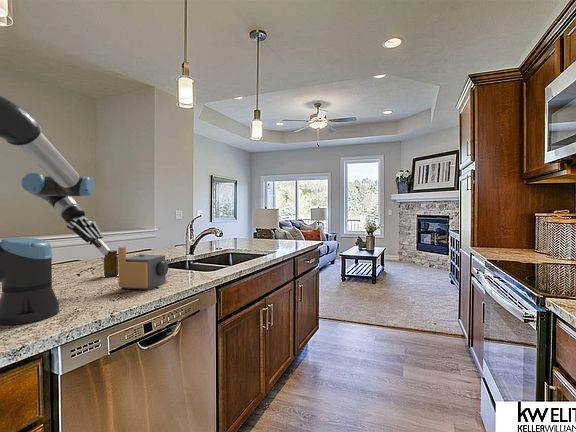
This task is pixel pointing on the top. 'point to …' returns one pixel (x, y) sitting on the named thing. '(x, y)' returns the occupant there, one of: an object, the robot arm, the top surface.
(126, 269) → the door
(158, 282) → the housing
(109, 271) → the condiment
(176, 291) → the top surface
